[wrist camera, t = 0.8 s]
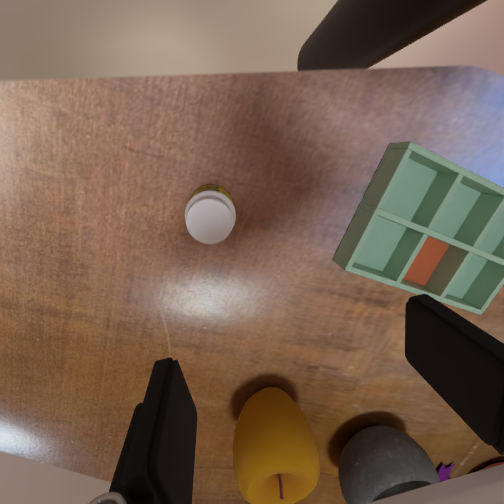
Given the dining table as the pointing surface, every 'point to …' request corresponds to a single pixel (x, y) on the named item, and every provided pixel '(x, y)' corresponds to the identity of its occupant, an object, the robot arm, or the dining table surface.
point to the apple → (274, 450)
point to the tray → (429, 229)
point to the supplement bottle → (210, 214)
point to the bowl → (383, 465)
